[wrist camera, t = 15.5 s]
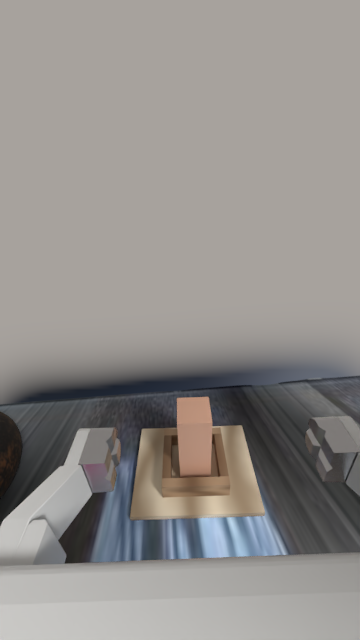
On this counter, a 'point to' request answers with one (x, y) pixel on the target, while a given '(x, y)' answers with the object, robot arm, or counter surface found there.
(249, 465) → the housing
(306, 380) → the counter surface
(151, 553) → the counter surface
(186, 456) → the block
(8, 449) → the glass bottle
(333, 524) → the counter surface
